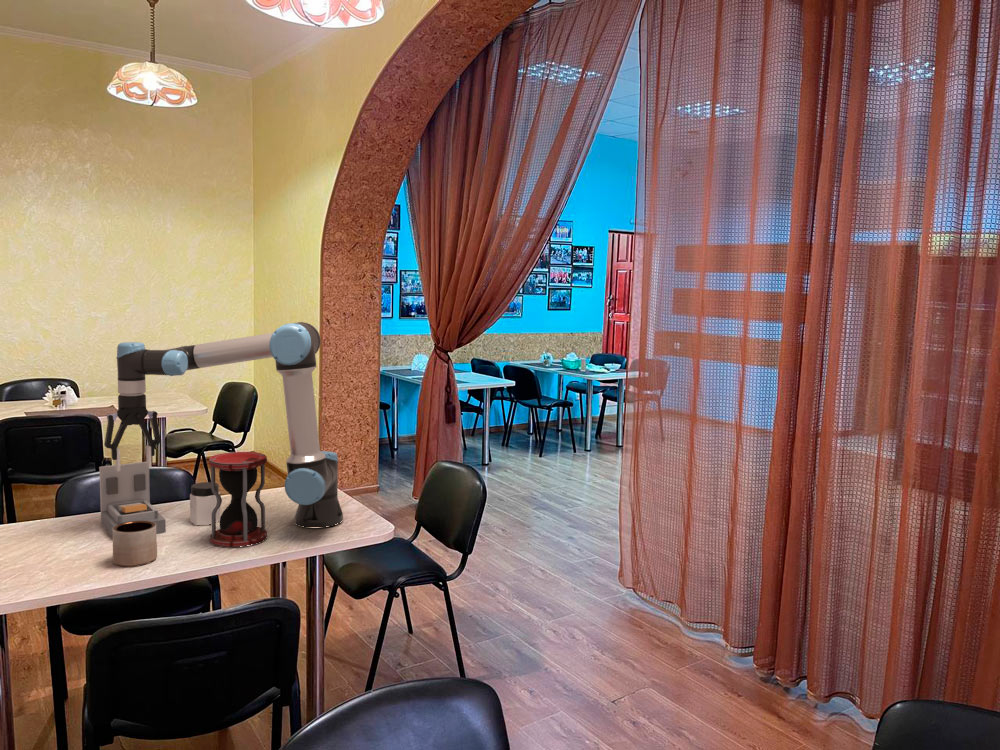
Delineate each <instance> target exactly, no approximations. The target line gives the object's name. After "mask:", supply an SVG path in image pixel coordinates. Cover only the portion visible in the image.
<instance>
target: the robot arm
mask: <svg viewBox="0 0 1000 750" xmlns="http://www.w3.org/2000/svg"><path fill="white" fill-rule="evenodd" d="M321 339H322V338H321V336H320V332H319V331H318V329H317V328H316V327H314V326H313V325H312V324H310V323H307V322H304V321H301V322H300V321H298V322H294V323H293V322H290V323H285V324H283V325H281V326H279V327H278V328H276V329H275V330H274V332H270V333H269V332H268V333H264V334H257V335H251V336H244V337H238V338H231V339H224V340H218V341H211V342H204V343H199V344H193V345H192V344H191V345H184V346H183V345H181V346H178V347H174V348H169V349H168V348H167V349H146V347H145V343H144V342H139V341H134V342H133V341H130V342H129V341H127V342H126V341H125V342H120V343H118V345H117V347H116V349H117V350H116V365H117V366H116V368H117V393H118V394H119V395H117V404H118V405H117V407H118V409H117V411H116V413H107V415H106V419H107V425H106V430H105V437H104V447H105V448H106V449H110V450H111V459H112V460H113V461H115V465H116V470H117V471H121V470H120V464H121V450H120V448H119V444H121V443H120V442H121V441H122V438H123V435H124V433H125V431H126V429H127V428H128V426H133V425H135V426H136V425H138V427H140V429H141V431H142V434H143V436H145V439H146V440H147V443H148V444H146V445H145V448H146V449H145V451H146V462H147V467H148V468H149V469H151V468H152V457H154V456H155V450H156V449H155V447H156V445H158V444H161V443H162V439H161V435H160V428H159V424H158V419H157V418H158V412H157V411H155V410H152V411H151V410H148V409H147V395H146V394H145V393H146V392H147V390H146V388H147V387H146V375H148V376H149V375H152V376H169V377H175V376H183V375H184V374H185V373H186V372H187V371H192V370H198V369H203V368H211V367H218V366H224V365H229V364H237V363H244V362H250V361H256V360H257V361H258V360H263V359H269V358H273V359H274V361H275V370H276V372H278V373H279V374H280V376H282V377H281V378H282V384H283V394H284V402H285V403H284V405H285V413H286V414H285V415H286V420H287V421H286V423H287V432H288V440H289V451H290V455H289V456H288V458H286V461H285V462H286V472H287V473H286V474H287V476H286V478H285V481H284V490H285V494H286V496H288V498H289V499H290V501H292V502H294V503H295V504H298V505H297V508H296V512H295V514H294V524H295V523H296V524H297V525H296V524H295V525H296V526H298V525H300V526H304V527H303V528H305V527H326V526H332V525H335V524H337V523H340V522H341V521H342V520H343V521H344V513H343V509H342V507H341V505H340V504H341V503H340V501H339V498H338V495H339V493H338V488H339V487H338V486H339V485H338V484H339V482H338V481H339V480H338V479H339V477H338V475H339V471H338V470H339V468H338V467H339V465H338V464H339V460H338V459H339V458H338V457H339V456H338V454H337V453H336V452H334V451H327V450H320V449H321V447H320V441H319V439H320V438H319V431H318V430H319V429H318V428H319V427H318V419H317V418H318V417H317V409H316V400H315V390H314V381H313V380H314V379H313V372H314V371H315V369H316V368H317V358H316V354H317V353H318V351H319V350H320V347H321V343H322V342H321ZM147 416H148V418H149V419H150V424H151V429H152V432H153V437H152V435H151V433H150V431H149V429H148V427H147V426H146V425H147V424H146V423H145V421H144V420H145V419H146V417H147ZM117 418H118V419H119V420H120V423H119V426H118V429H117V432H116V434H115V436H114V439H113V440H112V438H113V433H114V432H113V431H114V427H115V422H116V420H117ZM340 524H341V523H340ZM300 526H299V527H300Z"/></svg>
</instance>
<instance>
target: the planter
mask: <svg viewBox="0 0 1000 750" xmlns="http://www.w3.org/2000/svg"><path fill="white" fill-rule="evenodd" d="M157 540H158V539H157V534H156V523H154V522H151V521H130V522H125V523H121V524H118V525H116V526H114V527H113V537H112V560H113V561H112V562H113V563H114V564H116V565H117V566H119V565H120V566H121V567H125V566H132V567H138V565H140V566H144V565H147V563H148V564H150V563H152V562H154V561H155V560H156V559H157V558H158V541H157ZM149 562H150V563H149ZM143 564H144V565H143ZM120 566H119V567H120Z"/></svg>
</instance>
